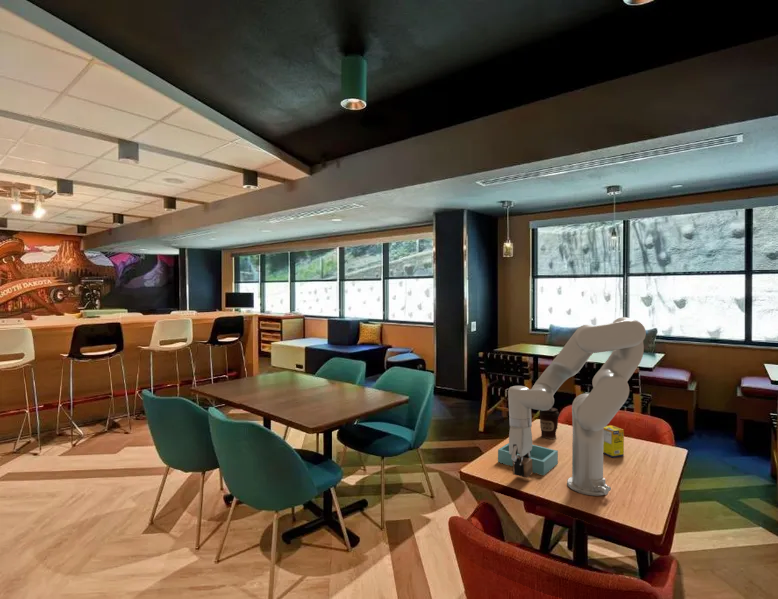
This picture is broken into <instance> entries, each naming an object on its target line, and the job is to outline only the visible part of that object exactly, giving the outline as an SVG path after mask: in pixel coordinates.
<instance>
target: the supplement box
mask: <svg viewBox="0 0 778 599" xmlns="http://www.w3.org/2000/svg"><path fill="white" fill-rule="evenodd" d="M603 430H604V444H603V453H604V454H603V455H605V454H606V455H605V456H608V457H611V458H613V459H614V458H615V459H616V458H620V457H624V455H625V454H624V450H625V449H624V448H625V446H624V445H625V444H624V443H625V431H624V430H625V429H623V428H620V427H618V426H615V425H611V424H610V425H606V426H605V427H604V428H603Z"/></svg>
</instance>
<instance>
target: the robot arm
mask: <svg viewBox="0 0 778 599" xmlns="http://www.w3.org/2000/svg"><path fill="white" fill-rule="evenodd" d="M646 331H647V330H646V328H645V326H644V324H643V323H642V322H640V321H639V320H637V319H633V318H630V317H619V318H616V319H615V320H613V321H612V322H611V323H606V324H601V325H592V324H583V325H581V326H579V327H577V329H576V330H575V331H574V333H572V336H571V337H570V338H569V339H568V340H567V342H566V343H565V345H564V346H563V347H562V349H561V350H560V351H559V352H558V354H557V355H556V357H554V358H553V360H552V361H551V362H550V363H549V365H548V366H547V367H546V368H545V370H544V371H543V372H542V374H540V376H539V377H538V379H537V380H536V381H535V383H534V385H532V387H531V388H529V387H527V386H524V385H513V386H510V387H509V388H508V391H507V395H508V396H507V398H508V416H509V417H508V418H509V420H508V421H509V434H508V443H509V454H510V455H512V456H511V459H512V460H513V462H514V468H515V476H518V477H522V478H524V477H523V476H524V465H522V463H523V457H526V458H531V455H530V453H531V450H532V445H533V432H532V427H533V426H532V424H533V423H532V410H537V411H540V410H543V411H544V410H549V409H550V408H553V406H554V404H555V398H554V395H555V393H556V392H557V391H558V390H559V388H560V387H561V386H562V385H563V384H564V383H565V382H566V381H567V380H568V379H569V378H571V377H574V376H575V375H576V374H578V373H579V372H580V371H581V369H582V368H583V367H584V365H585V364H586V363H587V361H588V360H589V359H590V358H591V356H592V355H593V354H596V353H604V352H611V351H612V352H611V353H610V355H609V356H608V358H607V359H606V361H604V364H603V365H601V367H600V369H598V371H597V372H596V373H595V375H594V376H593V378H592V380H591V381H592V382H591V383H592V389H591V391H590V392H589V393H586V392H585V393H581V394H579V395H577V396H576V397H575V398H574V399H573V401H572V404H571V416H572V417H571V419H572V420H571V421H572V422H571V423H572V449H571V451H572V454H571V455H572V456H571V458H572V461H571V464H572V467H571V468H572V469H571V470H572V474H571V477H568V479H567V481H566V482H567V483H566V484H567V486H568V487H569V488H570V489H571V490H572V491H574V492H576V493H579V494H582V495H585V496H593V497H594V496H604V495H605V496H606V495H608V494H609V492H611V490H612V487H611V486H609V485H607V483H606V478H605V477H604V454H603V444H604V430H603V428H604V427H605V426H608V424H610V422H611V421H612V420H613V419H614V418H615V416H616V414H618V412H619V411H620V409H621V408H622V407H623V405H625V403H626V401H627V400H628V398H629V396H630V386H629V383H628V381H629V380H630V379H631V377H632V376H633V374H634V373H635V371H636V370H637V368H638V367H639V366H640V364H641V362H642V359H643V357H644V348H645V346H644V340H645V339H646V336H647V335H646V334H647V332H646ZM517 453H518V454H520V455H517ZM517 457H520V460H519V459H517Z"/></svg>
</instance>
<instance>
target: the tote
mask: <svg viewBox="0 0 778 599" xmlns="http://www.w3.org/2000/svg"><path fill="white" fill-rule="evenodd" d="M517 455H520V454H517ZM530 455H531V458H530V459H532V469H533V473H532V474H536V473H537V475H540V476H543V475H544V476H546V475H547V474H548V473H549V472H550V471H552V469H553V468H554V467H556V466H557V465H558V463H559V456H558V455H559V451H558V450H555V449H553V448H548V447H544V446H540V445H536V444H532V450H531V453H530ZM511 456H512V455H510V454H509V442H508V443H507V444H505V445H503V446H502V447H501V446H500V448H498V449H497V462H498V463H499V462H500V463H499V464H502V463H503V465H506V466H509V465H510V467H512V466H513V460H512V459H511ZM555 465H556V466H555Z"/></svg>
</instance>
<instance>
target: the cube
mask: <svg viewBox="0 0 778 599" xmlns="http://www.w3.org/2000/svg"><path fill="white" fill-rule="evenodd" d="M517 459H519V460H520V457H517ZM522 465H524V476H523V477H522V478H526V479H528V478H529V477H530V476H531V475H532V474H534V473H533V469H532V459H530V458H526V457H523V463H522ZM512 474H513V475H515V468H514V462H513V467H512ZM515 476H516V475H515Z"/></svg>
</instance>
